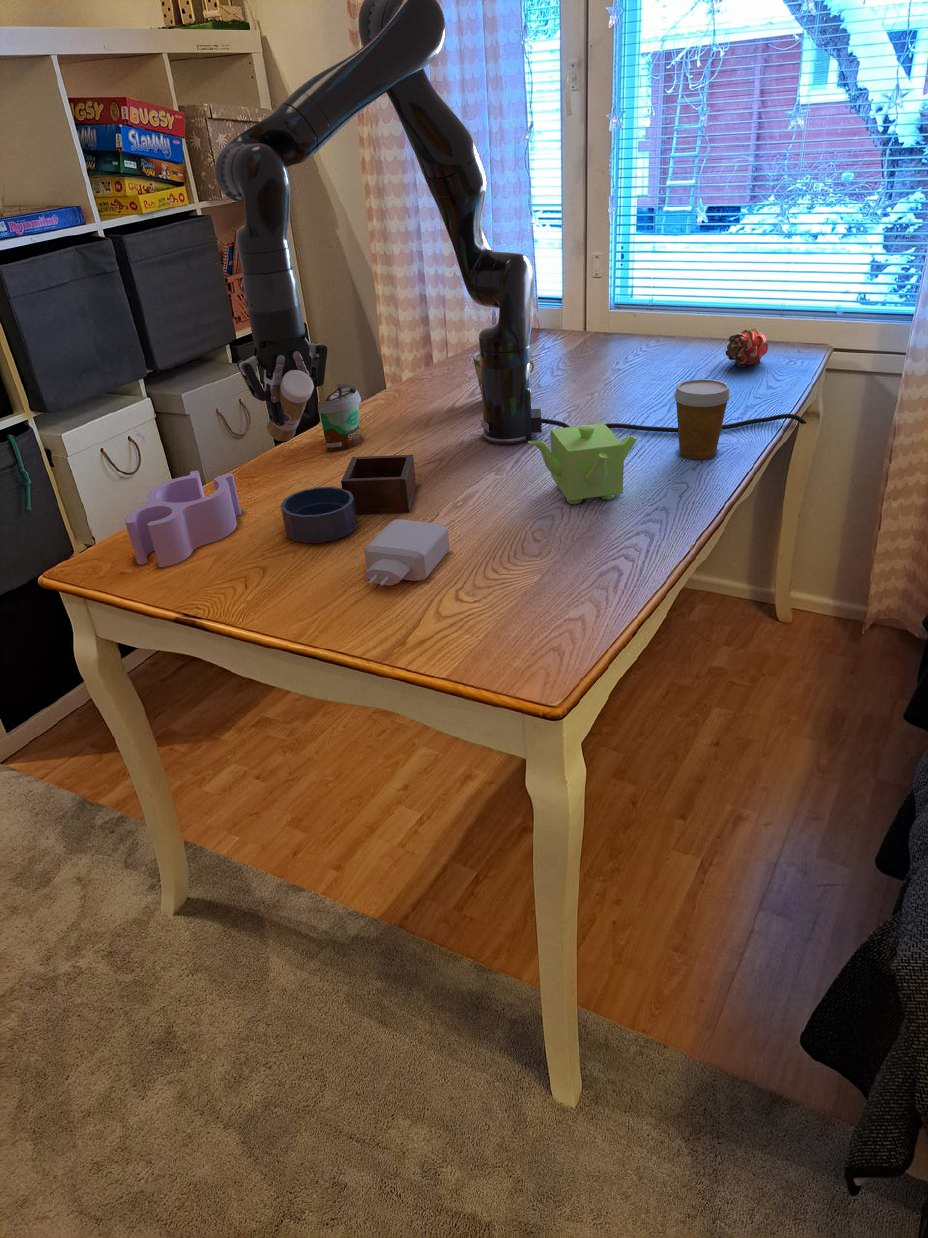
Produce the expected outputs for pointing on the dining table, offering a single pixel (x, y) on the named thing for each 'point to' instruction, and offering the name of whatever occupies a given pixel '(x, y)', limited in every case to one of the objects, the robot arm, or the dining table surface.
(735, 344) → the dragon fruit
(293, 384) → the sprinkles bottle
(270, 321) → the robot arm
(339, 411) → the food container
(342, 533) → the bowl
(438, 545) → the charger
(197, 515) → the clip
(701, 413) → the disposable coffee cup
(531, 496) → the dining table surface
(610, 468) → the kettle
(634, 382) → the dining table surface
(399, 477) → the box
